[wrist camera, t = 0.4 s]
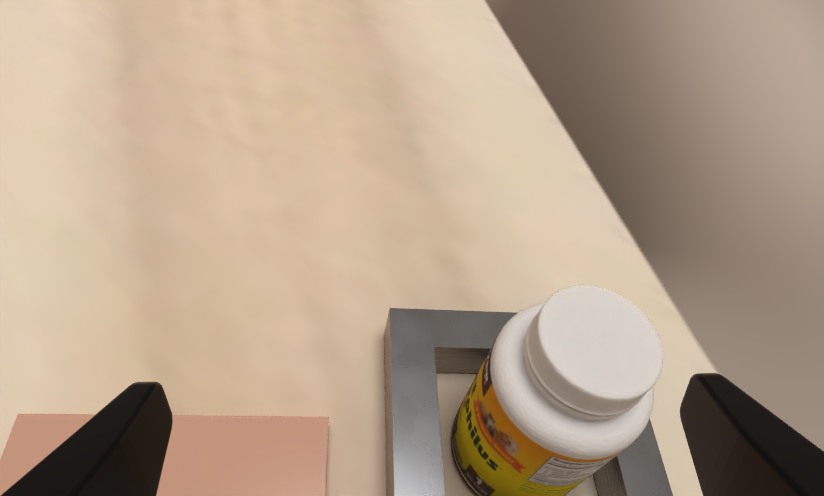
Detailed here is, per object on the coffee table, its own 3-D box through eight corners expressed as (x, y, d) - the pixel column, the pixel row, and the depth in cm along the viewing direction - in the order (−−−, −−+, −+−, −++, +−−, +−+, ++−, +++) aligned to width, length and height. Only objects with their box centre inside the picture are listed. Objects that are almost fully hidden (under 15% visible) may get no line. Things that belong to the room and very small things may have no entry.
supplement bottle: (443, 389, 27) (500, 258, 19) (557, 391, 28) (659, 265, 20) (453, 518, 24) (529, 425, 16) (583, 516, 24) (719, 427, 16)
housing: (665, 589, 23) (697, 578, 21) (388, 598, 22) (396, 588, 20) (598, 341, 30) (619, 316, 28) (383, 335, 28) (389, 308, 26)
